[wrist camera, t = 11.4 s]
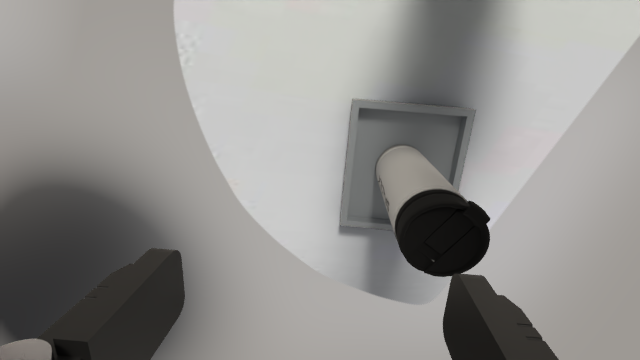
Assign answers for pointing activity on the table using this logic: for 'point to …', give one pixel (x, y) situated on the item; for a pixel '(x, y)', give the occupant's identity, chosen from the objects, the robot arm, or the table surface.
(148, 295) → the robot arm
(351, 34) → the table surface
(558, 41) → the table surface
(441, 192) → the travel mug
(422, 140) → the tray
